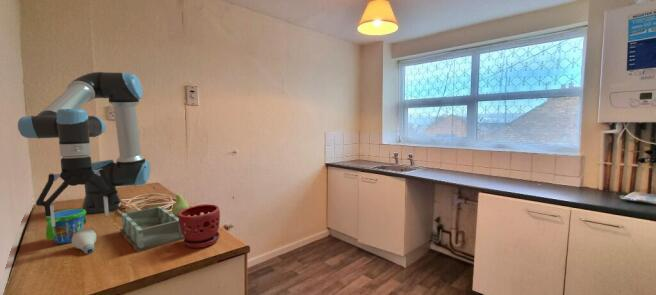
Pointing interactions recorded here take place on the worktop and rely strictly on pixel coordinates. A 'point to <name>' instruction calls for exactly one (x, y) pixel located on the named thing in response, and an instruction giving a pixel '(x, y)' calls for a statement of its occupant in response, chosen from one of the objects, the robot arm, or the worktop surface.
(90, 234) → the light bulb
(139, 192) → the worktop surface
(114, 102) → the robot arm
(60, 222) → the blue plastic tub
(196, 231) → the plant pot
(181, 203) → the fruit
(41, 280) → the worktop surface
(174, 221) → the grey plastic crate
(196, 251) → the worktop surface
